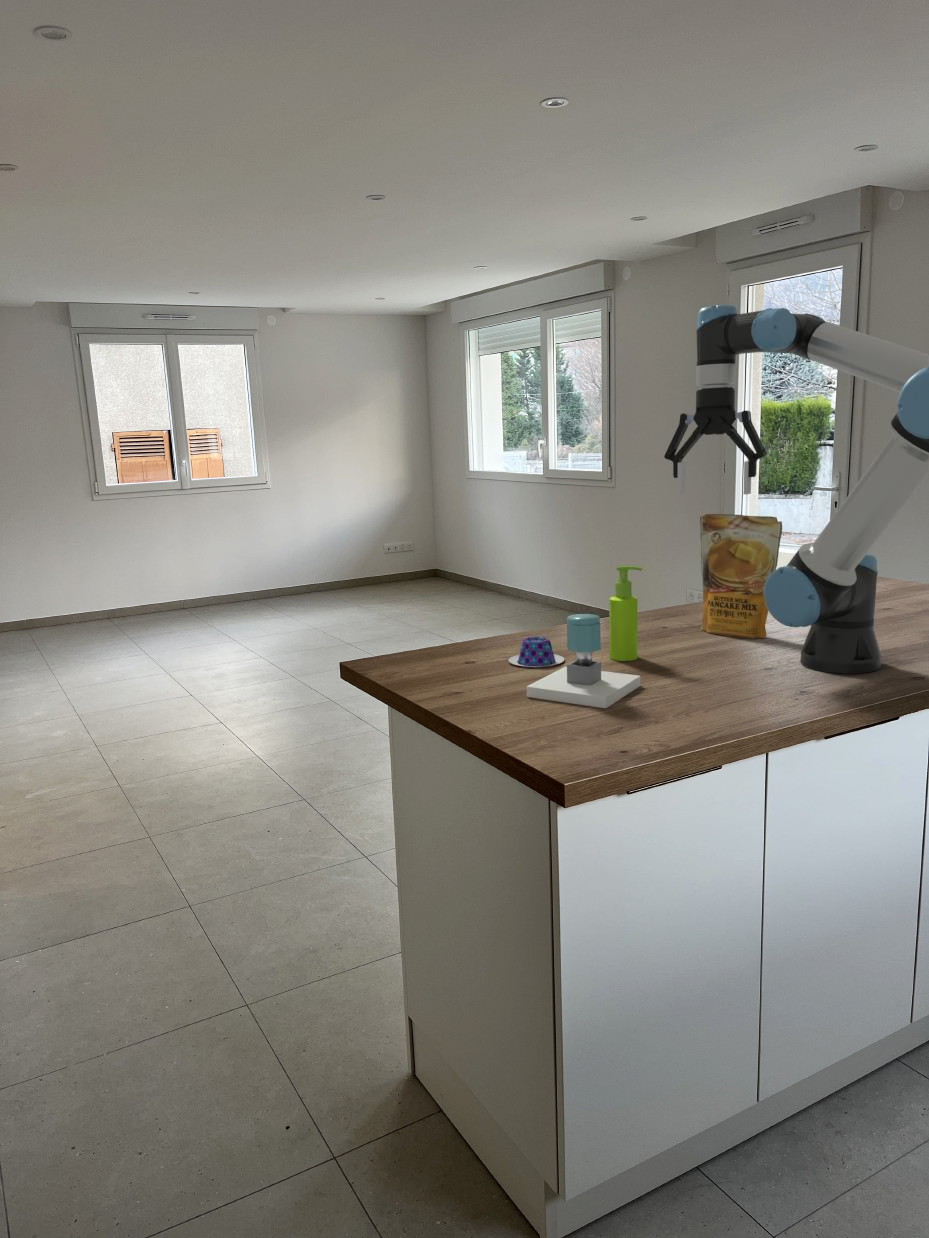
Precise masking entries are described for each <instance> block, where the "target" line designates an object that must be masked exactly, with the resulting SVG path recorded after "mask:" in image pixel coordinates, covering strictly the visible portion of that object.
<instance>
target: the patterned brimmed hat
mask: <svg viewBox="0 0 929 1238" xmlns="http://www.w3.org/2000/svg"><path fill="white" fill-rule="evenodd" d="M508 662H509V663H510V664H512V665H515V666H519V667H525V668H543V667H545V668H547V667H550V666H551V667H552V666H556V665H559V664H561V663H563V662H565V658H564V657H563V656H562V655H558V654H555V653H554V650H553V647H552V643H551V641H550V639H548V638H547V637H544V636H542V637H540V636H529V637H527V638H524V639H523V640H522V642H521V646H520V651H519V653H518V654H516V655H514V656H511V657H509V658H508Z"/></svg>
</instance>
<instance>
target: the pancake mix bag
mask: <svg viewBox="0 0 929 1238" xmlns="http://www.w3.org/2000/svg"><path fill="white" fill-rule="evenodd" d="M699 519H700V548H701V549H700V558H701V561H700V563H701V564H700V565H701V568H700V569H701V577H702V601H703V610H702V621H701V626H700V630H701V631H704V632H706V633H708V634H713V635H720V636H726V637H727V636H728V637H735V638H736V637H737V638H742V639H750V640H751V639H752V640H755V639H756V640H757V639H767V629H766V624H767V619H768V616H769V615H768V614H769V611H768V609H767V607H766V604H765V597H764V595H763V590H764V584H765V581H766V579H767V577H768V576H769V575H770V574H771V573H772V572H773V571H775V570H776V569H777V566H778V561H779V552H780V544H781V543H780V542H781V538H782V535H783V521H780V520H779V521H778V518H777V516H771V515H770V516H769V515H767V516H764V515H762V516H760V515H745V514H744V515H743V514H729V513H726V514H725V513H708V514H707V513H706V514H704V515H701V516H699Z"/></svg>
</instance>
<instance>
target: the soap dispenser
mask: <svg viewBox="0 0 929 1238" xmlns="http://www.w3.org/2000/svg"><path fill="white" fill-rule="evenodd" d="M628 570H629V571H631V570H633V571H640V572H641V571H642V570H643V566H639V565H633V564H632V565H630V564H629V565H617V566H616V571H618V572H619V573H618V574H619V578H618V580H617V581H615V582H614V583H615V584H614V585H615V594H614V596H611V597H609V603H608V604H609V607H608V609H609V659H610V660H612V661H616V662H629V661H630V662H632V661H635V660H637V659H638V597H636V596H634V595H632V594H633V593H632V588H633V587H632V581H631V580H629V579H628V578H629V577H628V574H629V573H628Z"/></svg>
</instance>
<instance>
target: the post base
mask: <svg viewBox="0 0 929 1238" xmlns="http://www.w3.org/2000/svg"><path fill="white" fill-rule="evenodd" d="M639 687H641V675H637V674H630V673H628V674H627V673H621V672H611V671H605V670H602V661H598V660H592V665H591V666H589V667H588V666H580V665H576V659H575V660H573V661H571V662H569V663H567V664H566V666H563V667H561V668H560V669H558V670H556V671H554V672H552V673H550V674H549V675H546V676H544V677H542V678H541V679H538V680H536V681H535V682H534V681H533V683H531V684H529V685H526V697H527V698H531V699H532V698H533V699H539V700H546V701H553V702H559V703H565V704H566V703H567V704H573V705H579V706H587V707H592V708H599V709H600V708H601V709H607V708H609V707H610V706H612V705H614V704H615V703H617V702H618V701H620V700H621V699H623V698H624V697H625V696H627V695H629V694H630V693H632V692H633V691H635V690H636V689H638V688H639Z"/></svg>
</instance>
